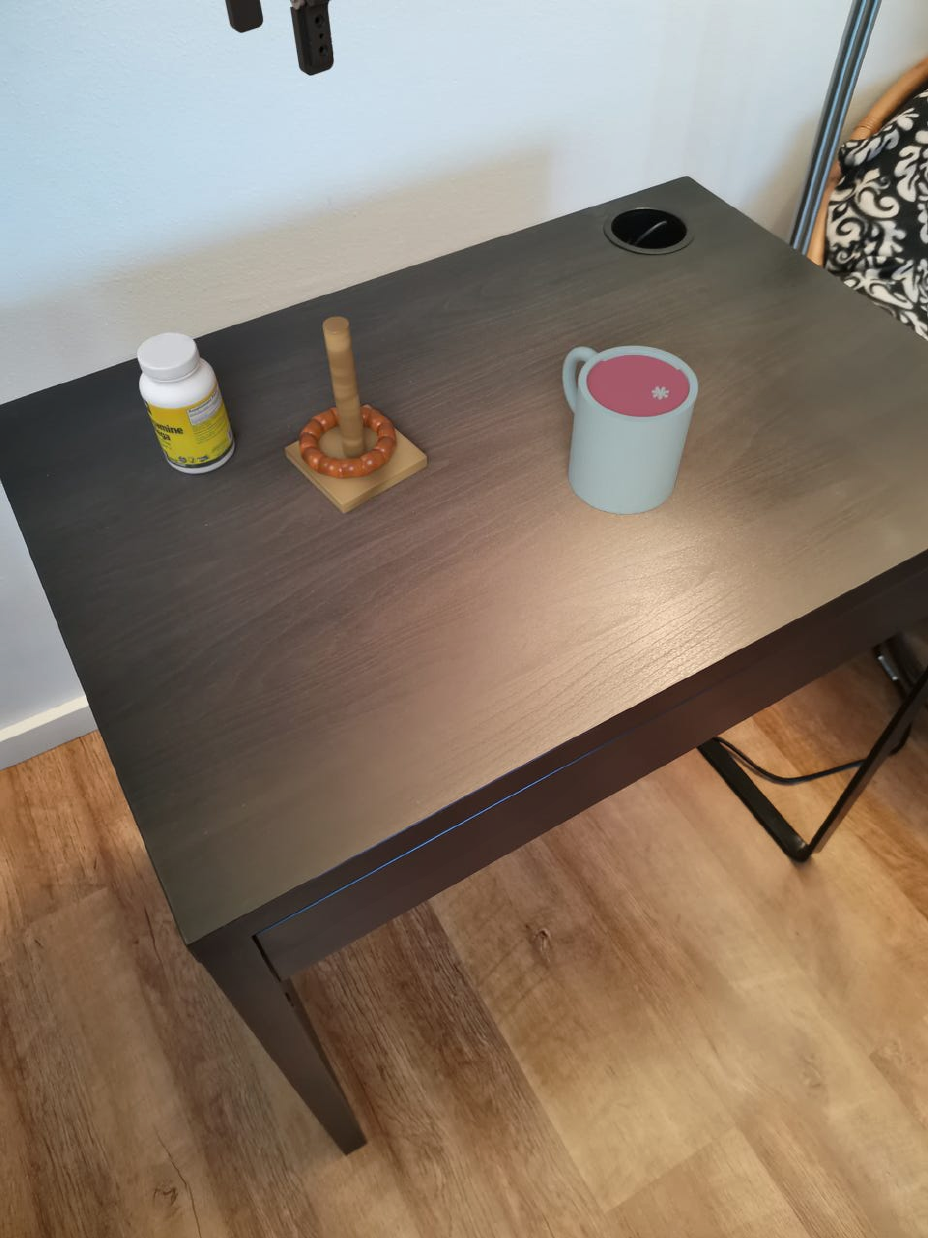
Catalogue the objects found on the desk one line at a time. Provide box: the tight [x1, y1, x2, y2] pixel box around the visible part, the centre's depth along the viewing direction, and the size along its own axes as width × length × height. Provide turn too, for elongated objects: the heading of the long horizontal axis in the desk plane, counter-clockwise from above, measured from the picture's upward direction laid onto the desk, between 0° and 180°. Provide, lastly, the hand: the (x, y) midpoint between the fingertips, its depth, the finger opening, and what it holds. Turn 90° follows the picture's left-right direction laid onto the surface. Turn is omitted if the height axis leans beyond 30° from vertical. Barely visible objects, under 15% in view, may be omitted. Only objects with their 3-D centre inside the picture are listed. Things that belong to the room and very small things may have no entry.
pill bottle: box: [136, 331, 235, 475], centre depth 75 cm, size 6×6×11 cm
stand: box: [284, 316, 429, 515], centre depth 72 cm, size 9×9×14 cm
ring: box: [298, 405, 397, 479], centre depth 77 cm, size 8×8×2 cm
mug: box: [561, 345, 699, 515], centre depth 74 cm, size 14×9×10 cm
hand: (281, 48), depth 58 cm, fingers open, 8 cm apart
